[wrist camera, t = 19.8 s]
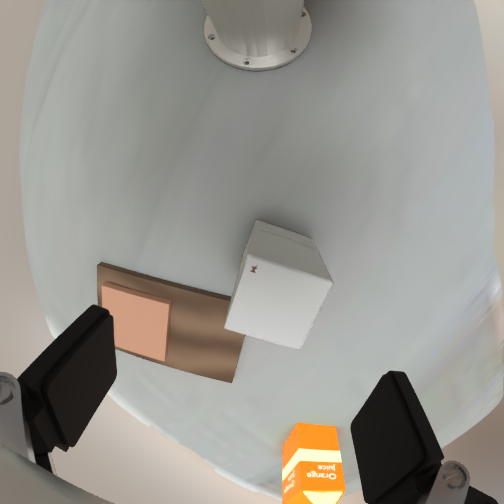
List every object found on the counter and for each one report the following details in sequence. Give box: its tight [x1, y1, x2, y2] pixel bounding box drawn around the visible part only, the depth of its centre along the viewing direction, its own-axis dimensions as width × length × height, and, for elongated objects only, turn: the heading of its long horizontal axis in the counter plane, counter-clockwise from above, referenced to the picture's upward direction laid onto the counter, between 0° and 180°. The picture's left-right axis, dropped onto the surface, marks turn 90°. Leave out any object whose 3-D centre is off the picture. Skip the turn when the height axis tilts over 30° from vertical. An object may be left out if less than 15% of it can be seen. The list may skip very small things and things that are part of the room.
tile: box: [102, 282, 172, 362], centre depth 37 cm, size 10×10×1 cm
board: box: [97, 262, 245, 383], centre depth 39 cm, size 14×22×1 cm, turn 77°
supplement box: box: [224, 220, 334, 350], centre depth 29 cm, size 7×7×13 cm
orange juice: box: [283, 423, 346, 504], centre depth 36 cm, size 8×9×20 cm
